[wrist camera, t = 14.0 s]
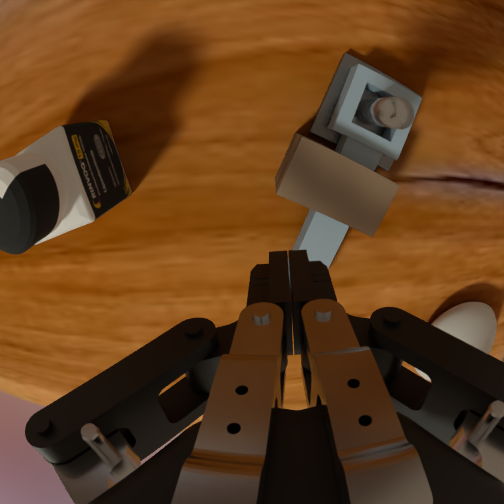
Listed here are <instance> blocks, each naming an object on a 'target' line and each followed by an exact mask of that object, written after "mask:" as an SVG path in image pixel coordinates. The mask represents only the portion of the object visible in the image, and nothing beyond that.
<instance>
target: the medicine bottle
mask: <svg viewBox="0 0 504 504" xmlns="http://www.w3.org/2000/svg"><path fill="white" fill-rule="evenodd" d="M131 194H132V190H131V188H130V185H129V182H128V180H127V177H126V174H125V171H124V168H123V165H122V163H121V160H120V157H119V154H118V151H117V148H116V145H115V142H114V139H113V136H112V132H111V129H110V126H109V123H108V121H107V120H98V121H90V122H83V123H76V124H69V125H63V126H59V127H57V128H55V129H54V130H52V131H51V132H49V133H47V134H46V135H44V136H43V137H41V138H40V139H38V140H37V141H35V142H34V143H32V144H31V145H29V146H28V147H27V148H25V149H24V150H22V151H21V152H19V153H18V154H17V155H15V156H13V157H10V158H7V159H4V160H1V161H0V249H1V250H2V251H5V252H7V253H10V254H21V253H23V252H25V251H27V250H28V249H29V248H31V247H32V246H33V245H36V244H39V243H41V242H43V241H46V240H48V239H51V238H53V237H55V236H58V235H60V234H63V233H65V232H68V231H70V230H73V229H75V228H78V227H81V226H83V225H86V224H88V223H91V222H93V221H95V220H96V219H97V218H99V217H100V216H102V215H103V214H104V213H106V212H107V211H109V210H110V209H112V208H113V207H114V206H116V205H117V204H119V203H120V202H122V201H123V200H125V199H126V198H128V197H129V196H131Z"/></svg>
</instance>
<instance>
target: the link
mask: <svg viewBox="0 0 504 504" xmlns="http://www.w3.org/2000/svg"><path fill="white" fill-rule="evenodd" d="M365 88H367V89H369V90H371V91H373V92H375V93H377V94H379V95H380V96H382V97H395V96H400V97H403V98H405V99H407V100H408V101H409V102H410V103H411V105H412V106H413V109H414V118H415V116H416V113H417V110H418V108H419V105H420V102H421V100H422V98H421V97H419V96H418V95H416V94H414V93H413V92H411V91H409V90H408V89H406V88H404V87H402V86H401V85H399V84H397V83H395V82H394V81H392V80H390V79H388V78H386V77H384V76H382V75H381V74H379V73H377V72H375V71H373V70H371V69H369V68H367V67H365V66H363V65H361V64H357V65H355V66H353V67H351V69H350V72H349V74H348V77H347V79H346V82H345V84H344V87H343V89H342V92H341V94H340V97H339V99H338V102H337V105H336V107H335V110H334V112H333V115H332V117H331V120H330V122H329V124H328V127H327V128H328V129H330V130H333V131H335V132H337V133H339V134H342V135H341V137H340V140H339V142H338V145H337V147H336V149H335V152H337V153H339V154H341V155H343V156H345V157H347V158H349V159H351V160H353V161H355V162H357V163H359V164H361V165H363V166H365V167H367V168H369V169H371V170H373V171H375V169H376V167H377V165H378V162H379V160H380V158H381V155H382V154H384V155H386V156H388V157H390V158H392V159H395V160H398V157H399V155H400V153H401V150H402V148H403V146H404V143H405V141H406V138H407V136H408V133H409V131H410V128H411V126H412V124H411V125H410V126H409V127H408V128H406V129H395V128H389V127H386V128H385V130H384V133H383V135H382V137H380V136H378V135H376V134H374V133H372V132H370V131H368V130H366V129H364V128H362V127H360V126H358V125H356V124H354V123H351V122H352V119H353V117H354V114H355V112H356V109H357V107H358V104H359V102H360V99H361V97H362V94H363V92H364V89H365ZM413 121H414V120H413ZM412 123H413V122H412ZM348 228H349V226H348V225H346V224H343V223H341V222H339V221H337V220H335V219H332V218H330V217H328V216H326V215H323V214H321V213H319V212H317V211H314V210H312V209H310V210H309V213H308V215H307V217H306V220H305V222H304V224H303V226H302V229H301V231H300V233H299V235H298V238H297V240H296V242H295V244H294V247H293V249H292V250H307V254H308V259H309V261H321V262H322V263H323V264H325V265H326V266H327V268H329V266H330V264H331V262H332V260H333V258H334V256H335V254H336V252H337V250H338V248H339V246H340V244H341V242H342V240H343V238H344V236H345V234H346V232H347V230H348ZM288 267H289V258H288ZM289 279H290V273H289Z"/></svg>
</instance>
